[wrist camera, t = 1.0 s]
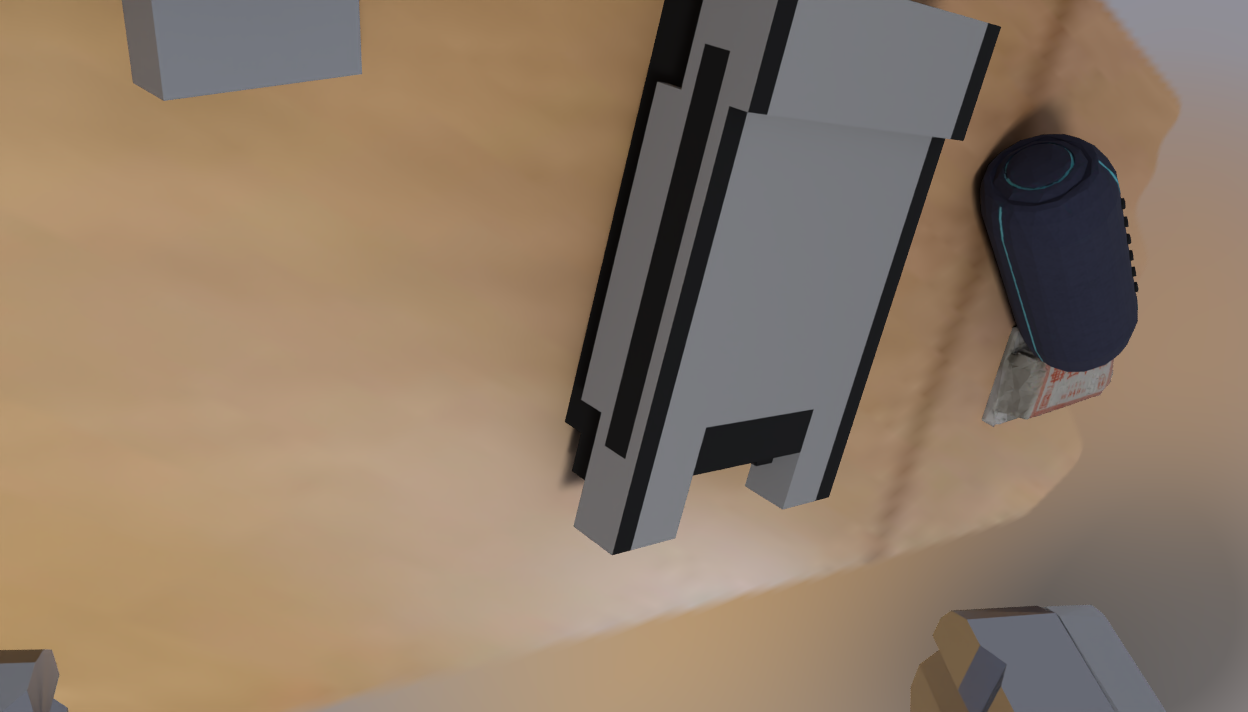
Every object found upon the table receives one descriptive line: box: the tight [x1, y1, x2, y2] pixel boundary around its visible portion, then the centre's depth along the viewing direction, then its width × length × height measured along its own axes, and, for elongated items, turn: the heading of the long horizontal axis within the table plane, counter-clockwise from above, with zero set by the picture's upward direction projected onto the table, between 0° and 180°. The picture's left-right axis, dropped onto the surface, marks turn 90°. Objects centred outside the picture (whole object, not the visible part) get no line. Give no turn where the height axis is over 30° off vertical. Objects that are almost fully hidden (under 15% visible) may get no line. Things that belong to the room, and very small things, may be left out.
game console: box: [565, 0, 1001, 555], centre depth 67 cm, size 21×32×8 cm, turn 163°
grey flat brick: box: [122, 0, 362, 101], centre depth 43 cm, size 8×4×3 cm, turn 85°
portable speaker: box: [980, 134, 1138, 372], centre depth 93 cm, size 25×10×10 cm, turn 36°
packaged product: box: [982, 327, 1114, 427], centre depth 110 cm, size 18×5×10 cm
